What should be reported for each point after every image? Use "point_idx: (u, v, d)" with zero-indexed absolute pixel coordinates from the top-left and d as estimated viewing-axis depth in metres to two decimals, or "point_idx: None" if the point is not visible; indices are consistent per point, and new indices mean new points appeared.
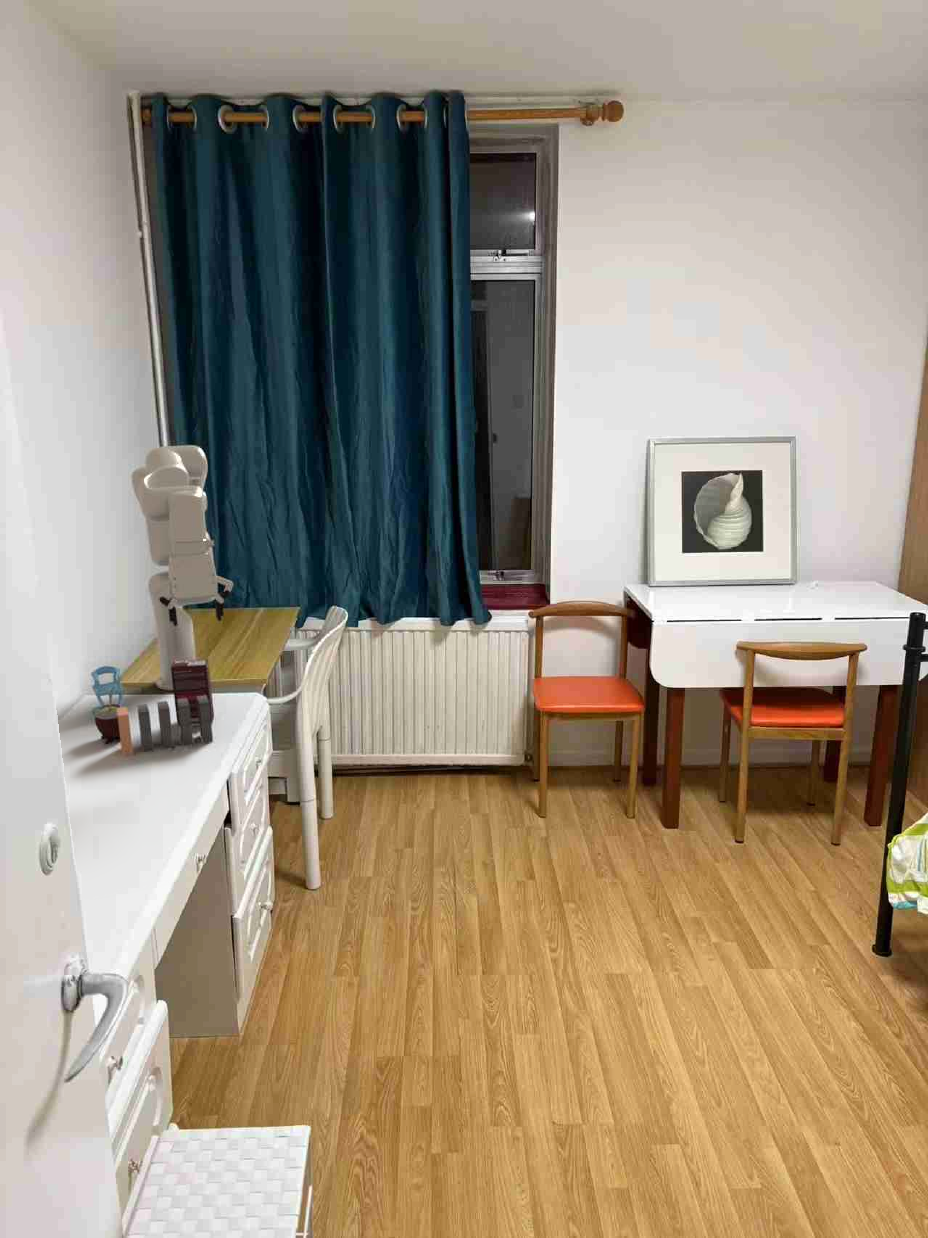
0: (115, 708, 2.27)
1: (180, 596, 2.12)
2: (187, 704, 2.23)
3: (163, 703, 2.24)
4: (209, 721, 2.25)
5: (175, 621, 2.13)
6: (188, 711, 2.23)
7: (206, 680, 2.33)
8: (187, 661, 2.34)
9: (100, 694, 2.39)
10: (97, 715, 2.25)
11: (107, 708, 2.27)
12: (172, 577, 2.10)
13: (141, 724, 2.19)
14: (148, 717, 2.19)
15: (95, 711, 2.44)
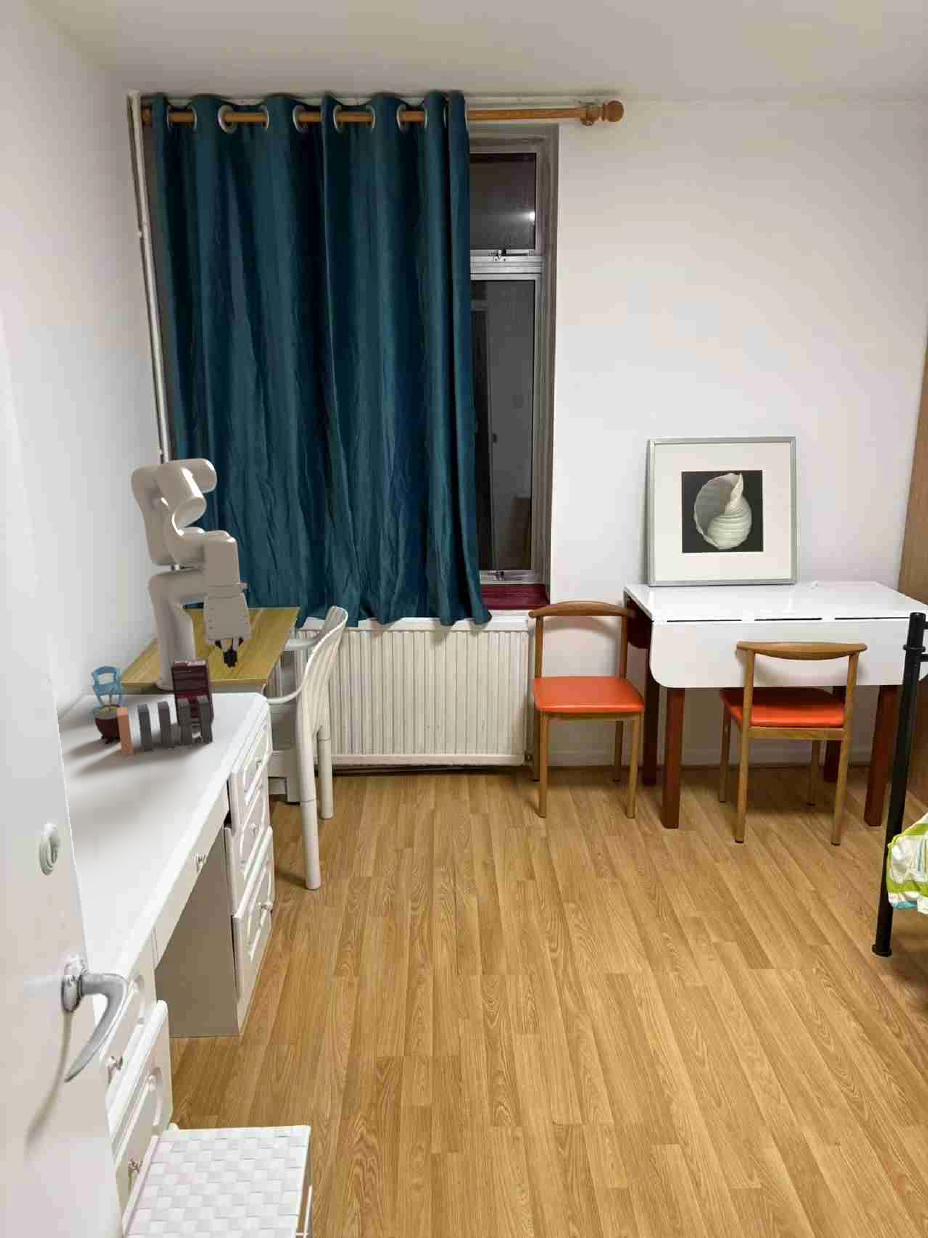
0: (115, 708, 2.27)
1: (215, 637, 2.21)
2: (187, 704, 2.23)
3: (163, 703, 2.24)
4: (209, 721, 2.25)
5: (229, 663, 2.24)
6: (188, 711, 2.23)
7: (206, 680, 2.33)
8: (187, 661, 2.34)
9: (100, 694, 2.39)
10: (97, 715, 2.25)
11: (107, 708, 2.27)
12: (207, 619, 2.19)
13: (141, 724, 2.19)
14: (148, 717, 2.19)
15: (95, 711, 2.44)
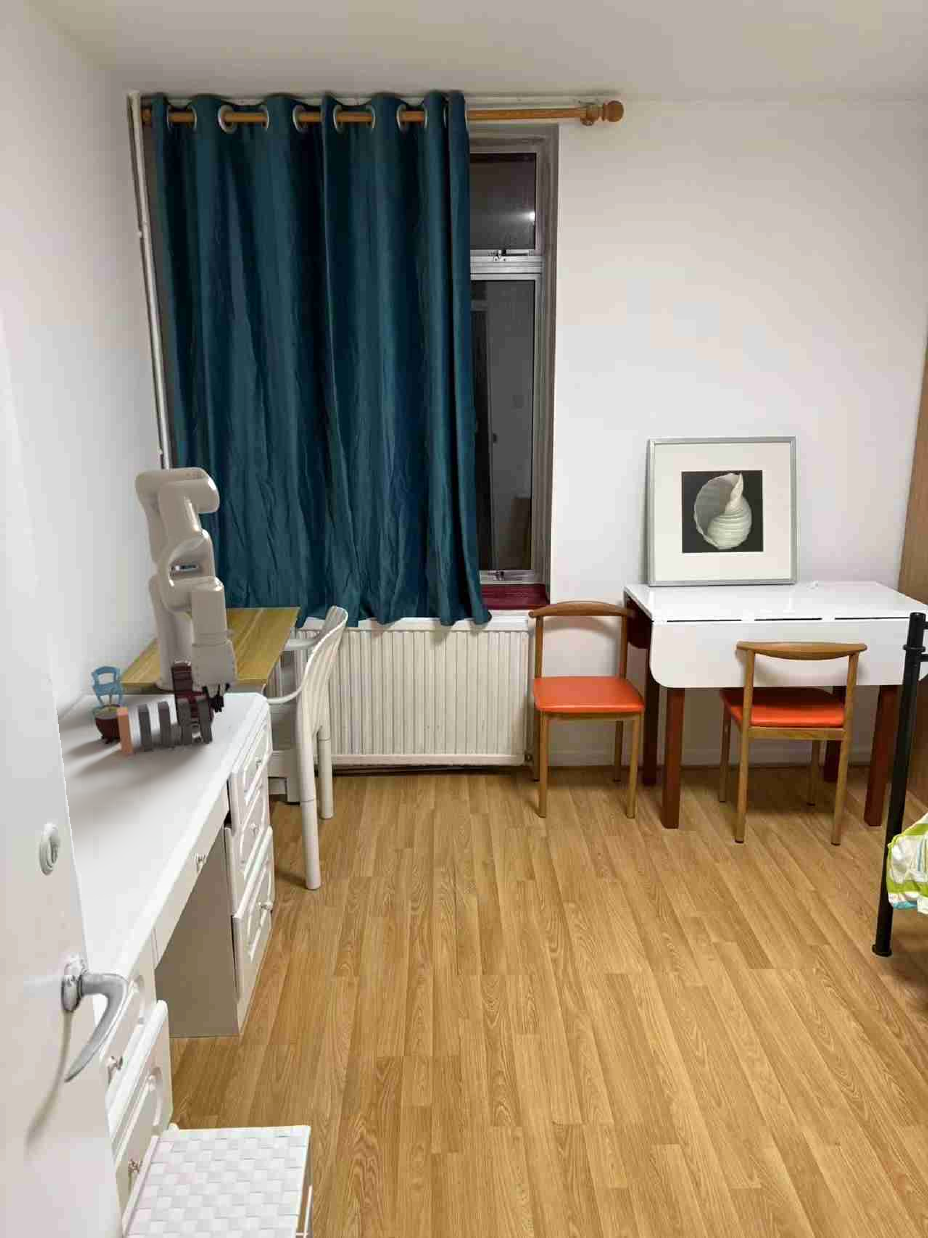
0: (115, 708, 2.27)
1: (202, 683, 2.23)
2: (187, 704, 2.23)
3: (163, 703, 2.24)
4: (208, 721, 2.25)
5: (216, 708, 2.26)
6: (188, 711, 2.23)
7: None
8: (187, 661, 2.34)
9: (100, 694, 2.39)
10: (97, 715, 2.25)
11: (107, 708, 2.27)
12: (194, 666, 2.21)
13: (141, 724, 2.19)
14: (148, 717, 2.19)
15: (95, 711, 2.44)
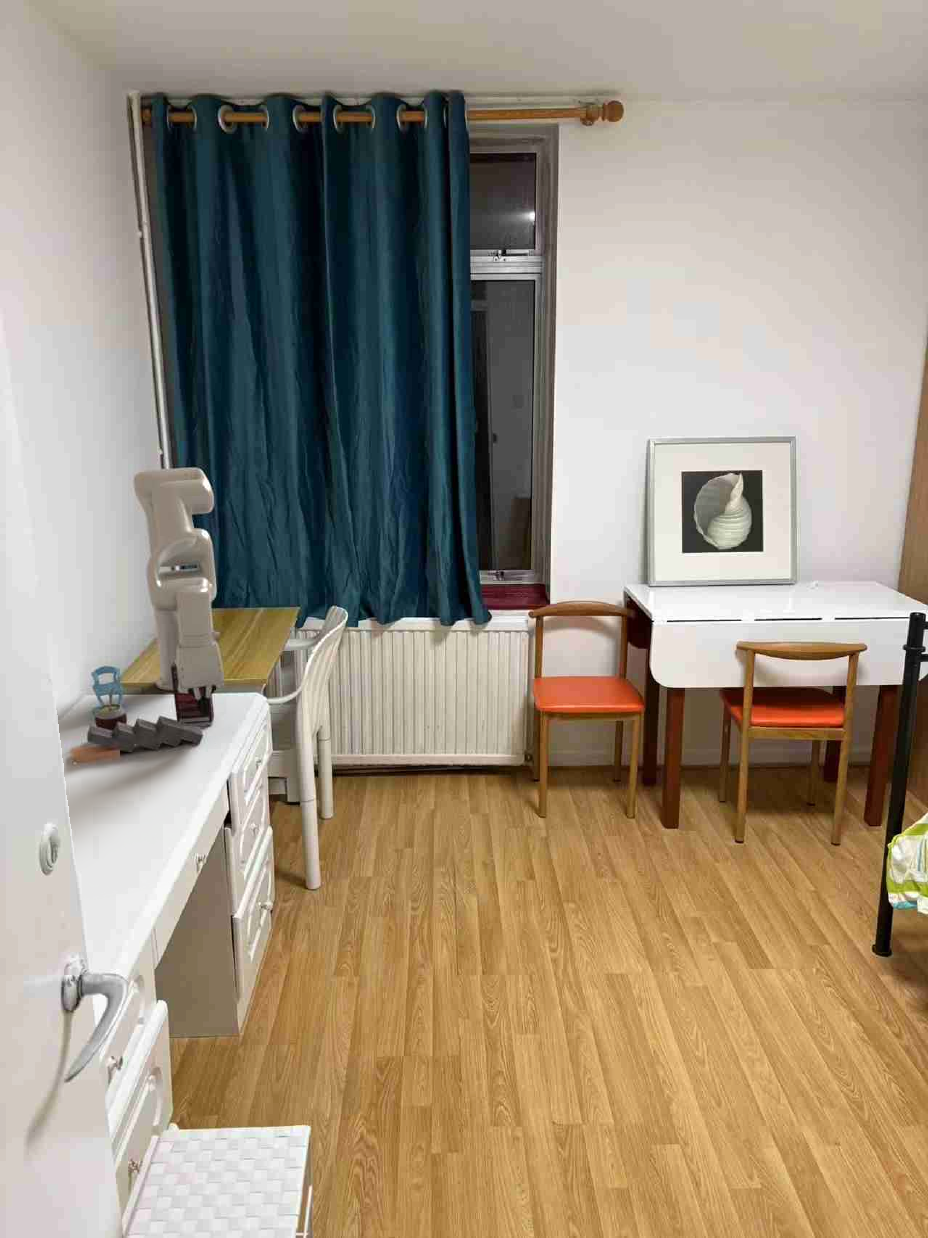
0: (115, 708, 2.27)
1: (188, 685, 2.22)
2: (138, 726, 2.20)
3: (116, 727, 2.21)
4: (181, 730, 2.23)
5: (202, 711, 2.25)
6: (144, 729, 2.20)
7: None
8: None
9: (100, 694, 2.39)
10: (97, 715, 2.25)
11: (107, 708, 2.27)
12: (180, 668, 2.20)
13: (100, 744, 2.17)
14: (97, 735, 2.16)
15: (95, 711, 2.44)
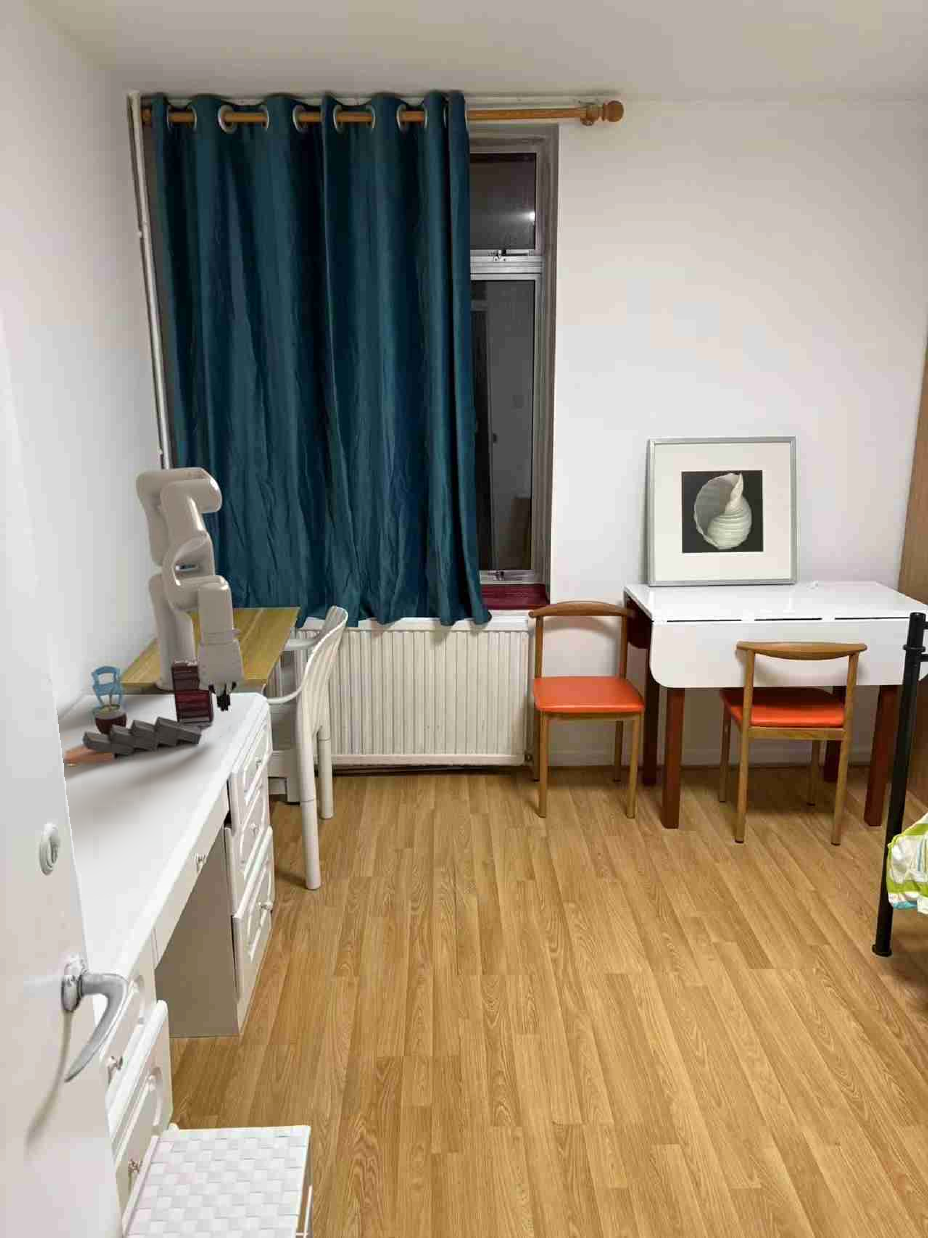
0: (115, 708, 2.27)
1: (208, 682, 2.23)
2: (135, 727, 2.20)
3: (111, 730, 2.20)
4: (179, 730, 2.23)
5: (222, 707, 2.27)
6: (141, 730, 2.20)
7: None
8: (187, 661, 2.34)
9: (100, 694, 2.39)
10: (97, 715, 2.25)
11: (107, 708, 2.27)
12: (201, 665, 2.22)
13: (100, 750, 2.15)
14: (97, 742, 2.14)
15: (95, 711, 2.44)
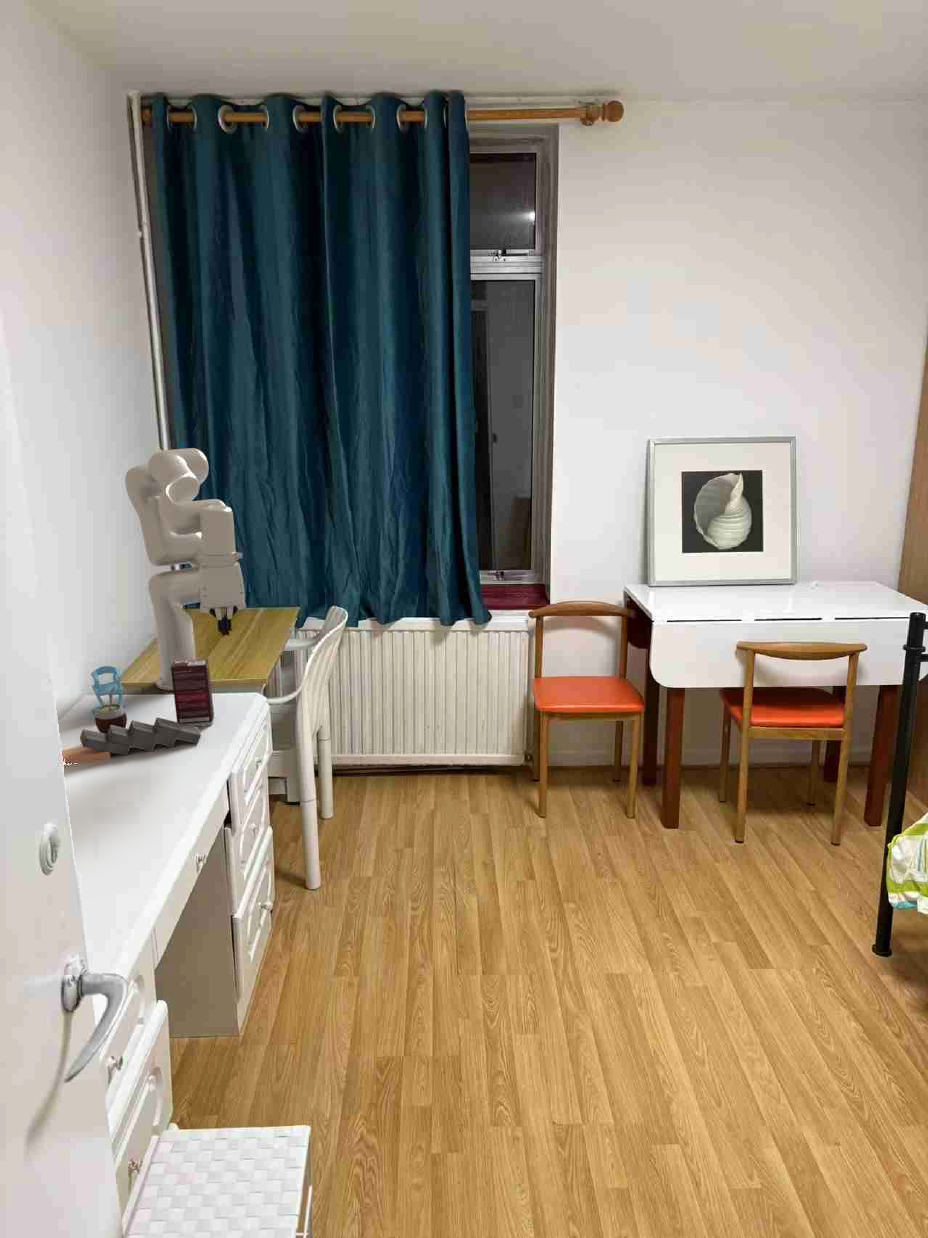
0: (115, 708, 2.27)
1: (209, 605, 2.23)
2: (132, 728, 2.20)
3: (109, 730, 2.20)
4: (178, 731, 2.23)
5: (223, 631, 2.26)
6: (139, 730, 2.20)
7: (206, 680, 2.33)
8: (187, 661, 2.34)
9: (100, 694, 2.39)
10: (97, 715, 2.25)
11: (107, 708, 2.27)
12: (202, 587, 2.21)
13: (96, 748, 2.16)
14: (92, 740, 2.15)
15: (95, 711, 2.44)
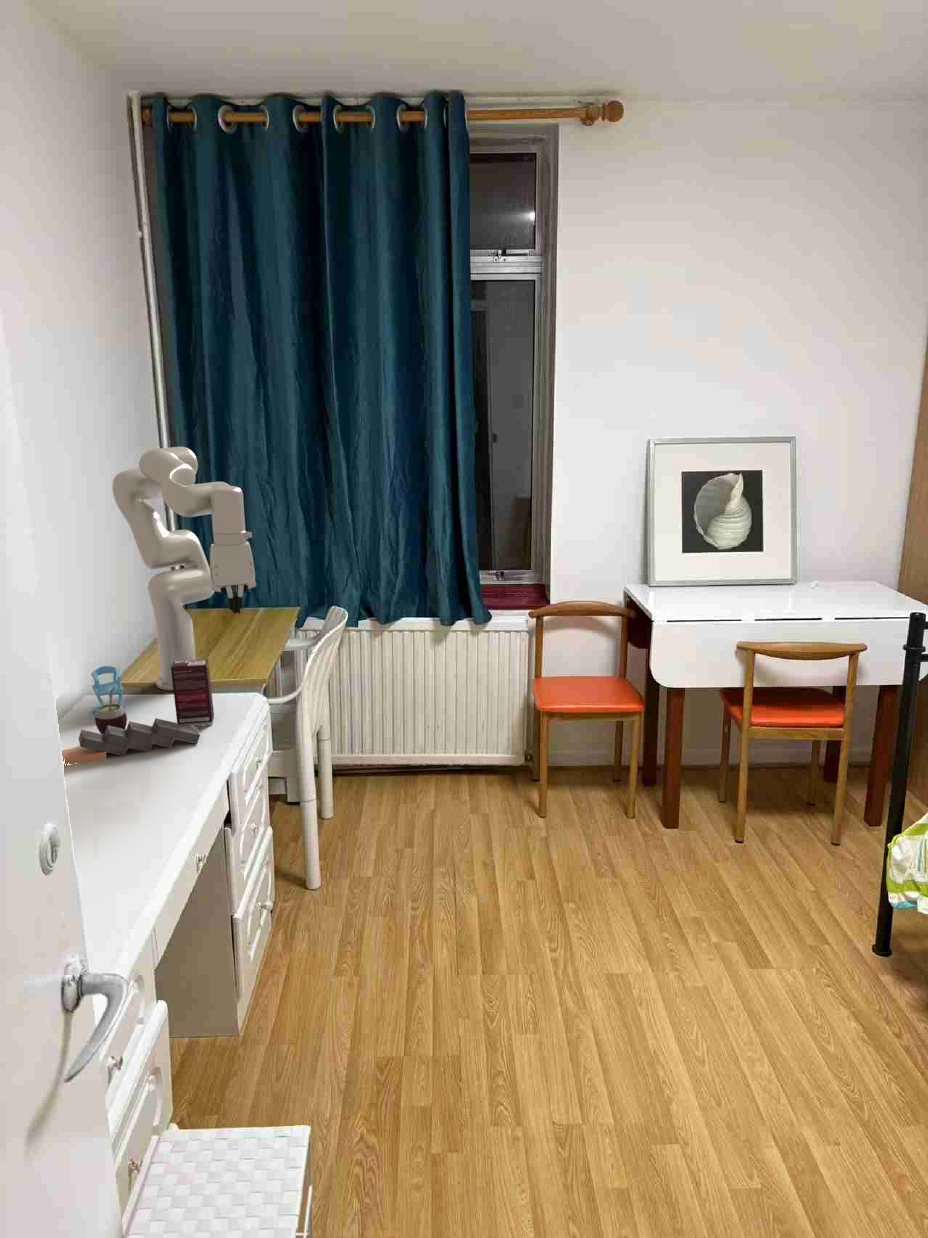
0: (115, 708, 2.27)
1: (221, 583, 2.29)
2: (130, 729, 2.19)
3: (106, 731, 2.20)
4: (178, 731, 2.23)
5: (234, 609, 2.33)
6: (137, 731, 2.19)
7: (206, 680, 2.33)
8: (187, 661, 2.34)
9: (100, 694, 2.39)
10: (97, 715, 2.25)
11: (107, 708, 2.27)
12: (214, 566, 2.28)
13: (93, 748, 2.16)
14: (89, 740, 2.15)
15: (95, 711, 2.44)
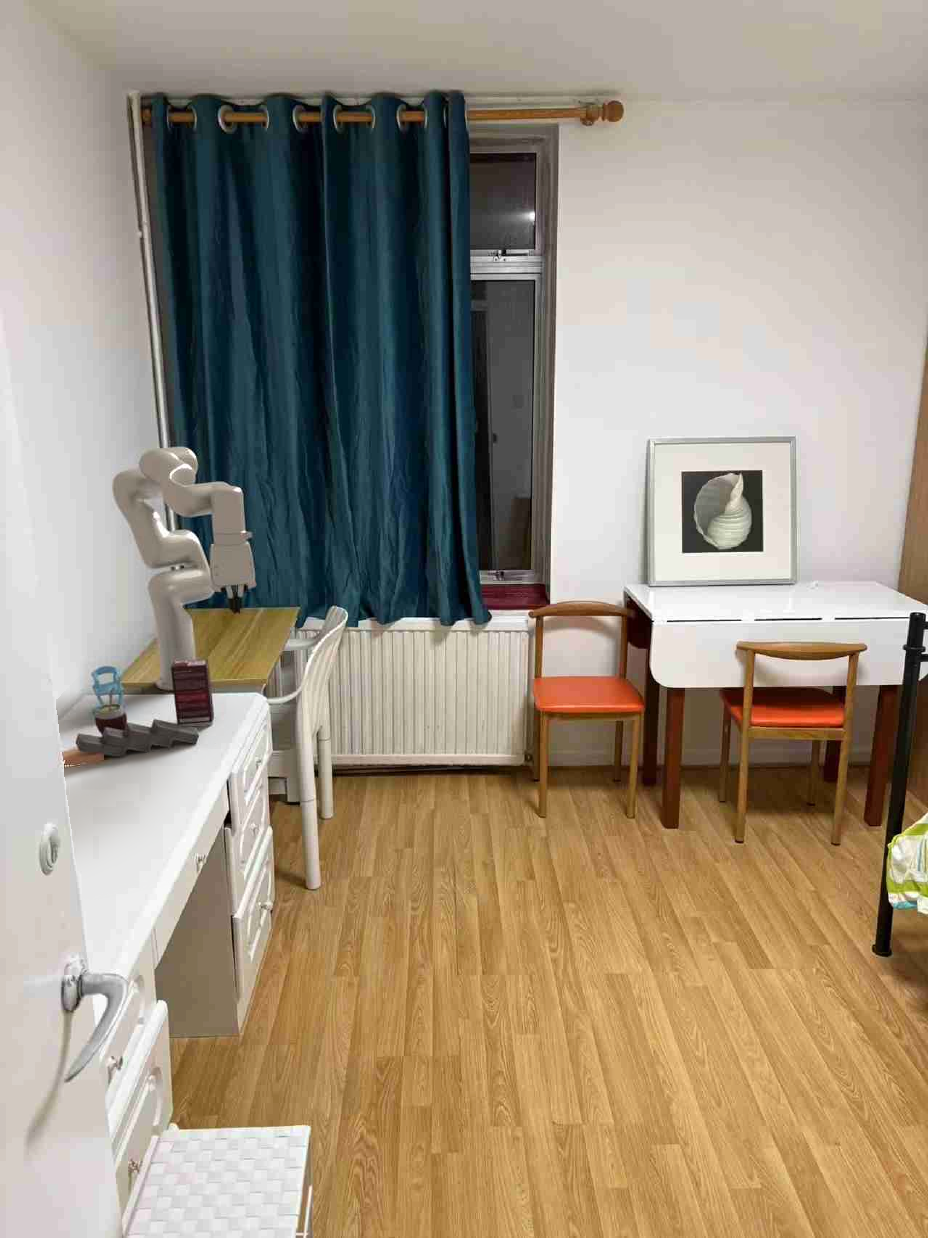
0: (115, 708, 2.27)
1: (221, 583, 2.29)
2: (129, 730, 2.19)
3: (104, 732, 2.19)
4: (177, 732, 2.23)
5: (234, 609, 2.33)
6: (136, 732, 2.19)
7: (206, 680, 2.33)
8: (187, 661, 2.34)
9: (100, 694, 2.39)
10: (97, 715, 2.25)
11: (107, 708, 2.27)
12: (214, 566, 2.28)
13: (92, 751, 2.15)
14: (88, 744, 2.14)
15: (95, 711, 2.44)
